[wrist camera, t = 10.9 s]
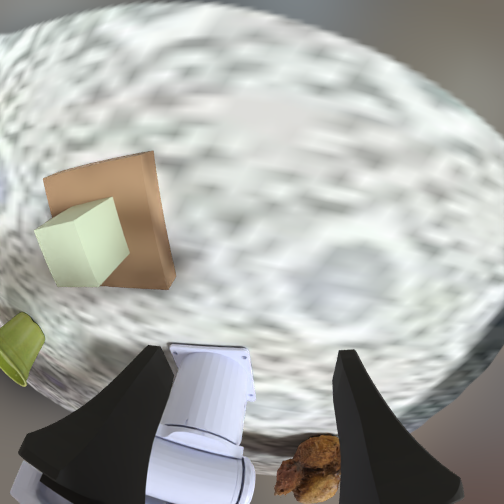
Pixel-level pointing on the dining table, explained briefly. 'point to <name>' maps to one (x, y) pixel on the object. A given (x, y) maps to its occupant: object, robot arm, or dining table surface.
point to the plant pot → (19, 347)
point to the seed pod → (311, 470)
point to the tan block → (123, 214)
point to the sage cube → (83, 244)
